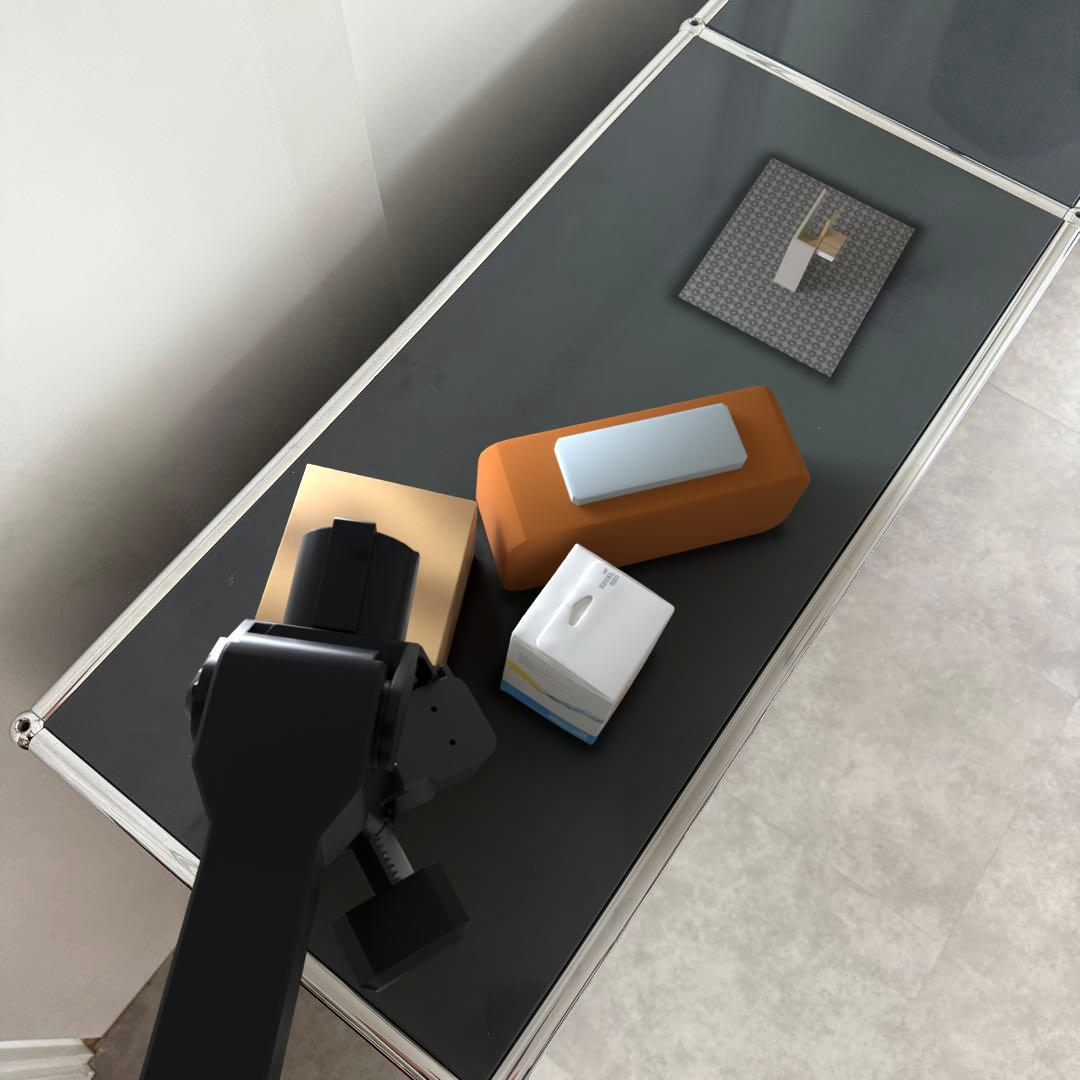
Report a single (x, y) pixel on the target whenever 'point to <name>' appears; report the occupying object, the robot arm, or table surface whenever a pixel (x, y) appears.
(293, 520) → the cabinet
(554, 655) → the ink box
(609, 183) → the table surface
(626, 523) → the alarm clock
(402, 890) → the robot arm
